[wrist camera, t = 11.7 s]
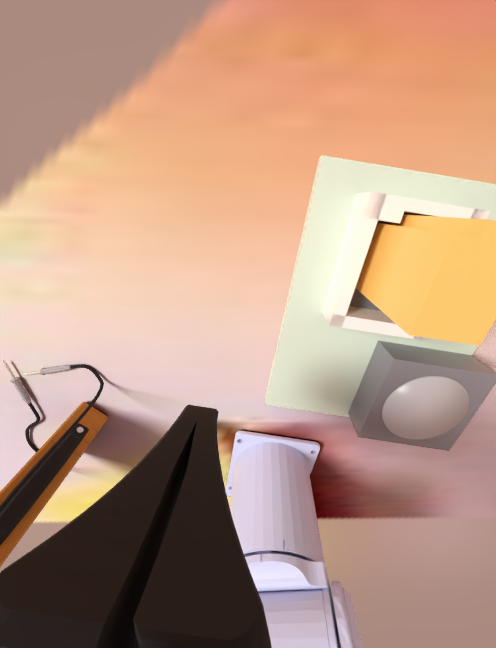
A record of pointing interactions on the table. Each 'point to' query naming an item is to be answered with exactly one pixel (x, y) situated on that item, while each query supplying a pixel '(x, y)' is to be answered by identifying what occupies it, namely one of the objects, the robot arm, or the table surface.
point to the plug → (434, 276)
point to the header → (367, 211)
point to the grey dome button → (419, 395)
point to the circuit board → (315, 277)
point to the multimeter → (45, 464)
